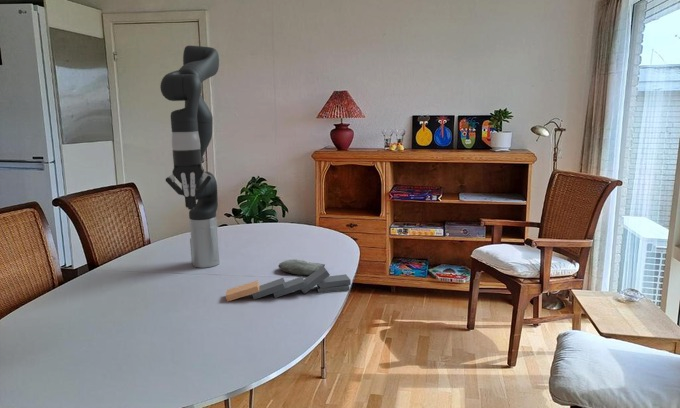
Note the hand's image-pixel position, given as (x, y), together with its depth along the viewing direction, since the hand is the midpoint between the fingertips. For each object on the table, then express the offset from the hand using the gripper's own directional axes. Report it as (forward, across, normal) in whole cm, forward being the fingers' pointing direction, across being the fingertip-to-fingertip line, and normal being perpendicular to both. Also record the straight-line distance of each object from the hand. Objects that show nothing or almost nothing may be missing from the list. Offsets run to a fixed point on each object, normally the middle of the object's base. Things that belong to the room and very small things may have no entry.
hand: (191, 208), depth 143 cm
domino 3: (+26, +22, -3) cm, 34 cm away
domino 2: (+26, +16, -3) cm, 31 cm away
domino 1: (+26, +8, -2) cm, 28 cm away
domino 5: (+25, +36, -2) cm, 43 cm away
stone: (+28, +32, +18) cm, 46 cm away
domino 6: (+27, +35, -2) cm, 44 cm away
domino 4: (+26, +30, -2) cm, 40 cm away
